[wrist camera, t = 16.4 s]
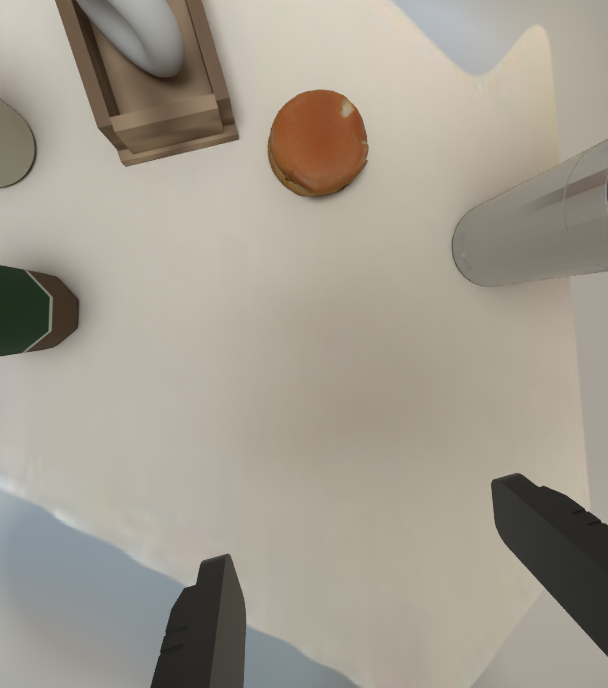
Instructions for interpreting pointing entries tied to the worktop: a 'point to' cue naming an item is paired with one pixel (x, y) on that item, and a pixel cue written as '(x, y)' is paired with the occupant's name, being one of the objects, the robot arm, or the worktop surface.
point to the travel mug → (14, 146)
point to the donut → (140, 32)
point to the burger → (317, 143)
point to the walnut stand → (153, 89)
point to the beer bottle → (33, 311)
